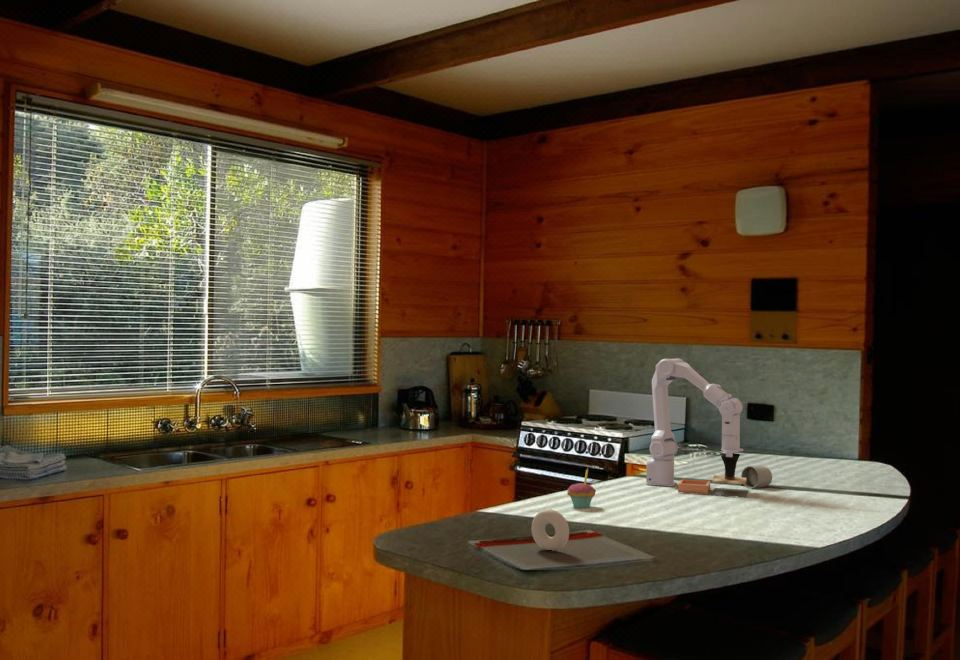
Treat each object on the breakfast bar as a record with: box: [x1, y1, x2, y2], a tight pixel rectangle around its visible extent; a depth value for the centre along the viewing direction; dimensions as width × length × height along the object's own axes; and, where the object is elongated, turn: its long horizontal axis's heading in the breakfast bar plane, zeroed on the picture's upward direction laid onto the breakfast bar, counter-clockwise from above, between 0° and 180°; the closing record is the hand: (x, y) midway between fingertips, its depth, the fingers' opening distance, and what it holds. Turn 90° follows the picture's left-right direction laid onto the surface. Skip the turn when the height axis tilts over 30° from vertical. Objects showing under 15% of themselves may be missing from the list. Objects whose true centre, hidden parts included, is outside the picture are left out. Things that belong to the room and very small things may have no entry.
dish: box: [677, 478, 711, 495], centre depth 294 cm, size 10×10×3 cm
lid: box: [711, 470, 746, 486], centre depth 291 cm, size 10×10×5 cm
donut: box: [530, 508, 570, 552], centre depth 211 cm, size 10×4×10 cm, turn 56°
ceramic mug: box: [739, 465, 773, 489], centre depth 304 cm, size 11×8×8 cm
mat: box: [711, 487, 749, 498], centre depth 291 cm, size 11×13×1 cm
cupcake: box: [566, 467, 597, 509], centre depth 266 cm, size 9×8×12 cm
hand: (730, 476), depth 291 cm, fingers closed on lid, 3 cm apart
